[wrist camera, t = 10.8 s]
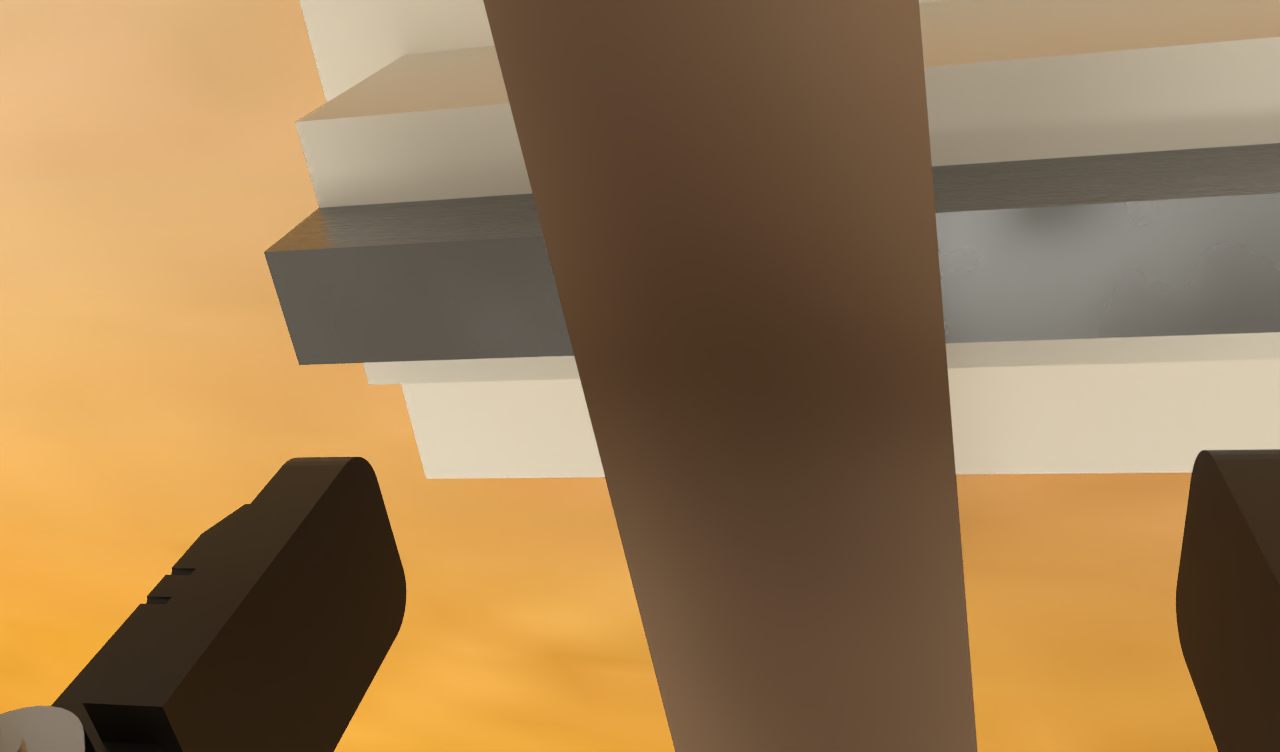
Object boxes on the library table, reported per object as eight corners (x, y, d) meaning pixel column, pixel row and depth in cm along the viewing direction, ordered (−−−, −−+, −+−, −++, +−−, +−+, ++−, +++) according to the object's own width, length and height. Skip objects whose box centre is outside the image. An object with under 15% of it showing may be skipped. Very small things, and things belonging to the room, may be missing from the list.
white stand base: (1416, -425, 17) (1843, -578, 10) (1267, 434, 24) (1443, 716, 17) (274, -235, 21) (-32, -242, 14) (445, 446, 29) (304, 676, 21)
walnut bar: (840, -802, 10) (832, -1104, 7) (973, 811, 20) (998, 1028, 16) (448, -662, 11) (263, -860, 8) (761, 809, 21) (742, 1013, 17)
